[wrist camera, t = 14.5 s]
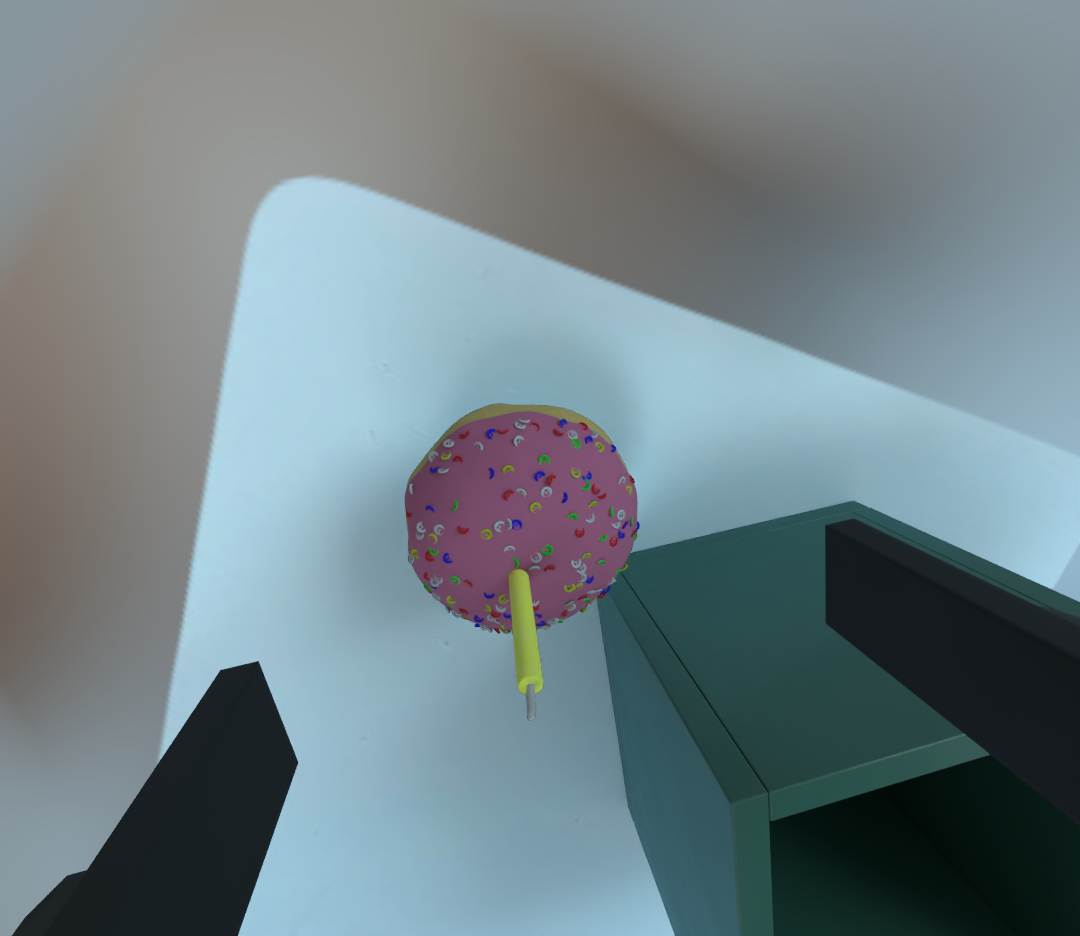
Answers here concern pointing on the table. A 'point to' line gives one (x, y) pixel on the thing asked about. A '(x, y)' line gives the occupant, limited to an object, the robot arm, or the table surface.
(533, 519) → the cupcake
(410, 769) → the table surface
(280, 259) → the table surface
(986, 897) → the cool box
